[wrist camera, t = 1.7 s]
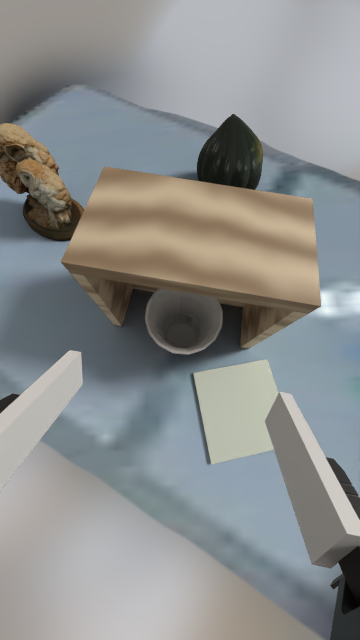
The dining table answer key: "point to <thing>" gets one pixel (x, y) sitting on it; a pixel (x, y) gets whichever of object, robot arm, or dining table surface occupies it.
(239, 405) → the mat
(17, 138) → the owl figurine
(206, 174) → the squash
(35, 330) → the dining table surface
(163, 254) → the oak cabinet
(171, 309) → the plastic cup
